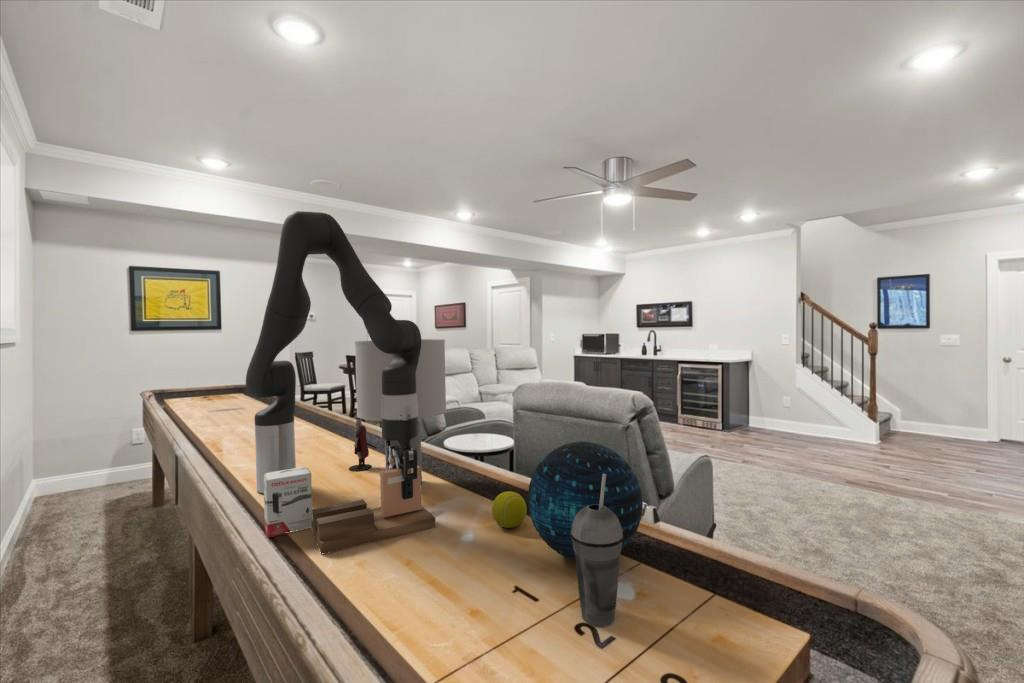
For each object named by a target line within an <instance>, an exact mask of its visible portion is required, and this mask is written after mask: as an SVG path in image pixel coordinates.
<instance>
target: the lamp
mask: <svg viewBox="0 0 1024 683" xmlns="http://www.w3.org/2000/svg"><path fill="white" fill-rule="evenodd" d="M445 342H446V339H444V338H442V339H441V338H436V339H435V338H434V339H433V338H431V339H430V338H428V339H427V338H426V339H425V338H421V350H420V356H419V361H418V366H417V369H416V394H417V401H418V430H419V434H418V436H417V437H415V438H412V439H411V440H410V442H411V446H412V448H413V450H415V449H416V450H417V465H418V466H419V467H420V474H421V486H422V484H423V475H422V474H423V473H422V472H423V471H422V470H423V469H422V436H421V435H422V432H421V431H422V430H421V428H422V427H421V422H420V421H419V420H423V419H424V420H425V419H428V418H434V417H438V416H441V415H443V414H446V413H447V397H446V395H447V394H446V391H447V390H446V356H445V355H446V353H445V352H446V351H445V350H446V348H445V347H446V346H445ZM354 345H355V346H354V348H355V349H354V350H355V390H356V418H360V419H361V420H364V421H365V420H366V421H375V422H382V420H381V402H382V371H383V369H384V368H385V367H387V366H388V365H389V364H390V363H391V359H392V354H387V353H384V352H382V351H381V350H379V349H378V348H377V347H376V346H375V345H374V343H373V342H372V340H359V341H358V340H356V341H354ZM384 449H385V450H384V452H385V471H386V470H389V466H387V454H386V440H385V439H384ZM403 465H404V464H403Z"/></svg>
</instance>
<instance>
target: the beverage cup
mask: <svg viewBox="0 0 1024 683" xmlns="http://www.w3.org/2000/svg"><path fill="white" fill-rule="evenodd" d="M605 481H606V474H603V475H602V485H601V494H600V504H592V505H588V506H586V507H584V508H582V509H581V510H580V511H579V512H578V513H577V515H576V517H575V518H574V521H573V524H572V530H571V533H570V534H571V538H572V543H573V548H574V551H575V558H576V560H575V567H576V575H577V586H578V587H577V588H578V595H579V596H578V597H579V598H578V599H579V607H580V611H581V618H582V620H583V622H585V623H586V624H587V625H589V626H591V627H596V628H604V627H609V626H610V625H612V624H613V623H614V622H615V619H616V618H615V614H616V609H617V599H618V598H617V596H618V587H619V586H618V583H619V572H620V571H619V570H620V556H621V552H622V550H621V548H622V541H623V539H624V537H623V534H622V528H621V525H620V522H619V520H618V518H617V516H616V515H615V514H614V513H613V512H612V511H611V510H610V509H609V508H607V507H605V506H603V501H604V491H605Z"/></svg>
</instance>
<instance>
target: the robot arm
mask: <svg viewBox="0 0 1024 683" xmlns="http://www.w3.org/2000/svg"><path fill="white" fill-rule="evenodd" d="M281 228H282V229H281V233H280V237H279V238H280V239H279V240H280V241H279V248H278V255H277V262H276V269H275V273H274V276H273V282H272V285H271V286H272V287H271V291H270V293H269V296H268V298H267V303H266V308H265V312H264V315H263V320H262V326H261V330H260V334H259V338H258V340H257V343H256V346H255V348H254V351H253V355H252V357H251V359H250V362H249V364H248V367H247V370H246V377H245V389H246V392H247V394H248V395H249V396H250V397H252V398H257V399H263V398H273V397H275V399H274V401H273V402H272V403H271V404H270V405H268V406H267V407H264V408H263V409H261V410H259V411H257V412H256V413H255V415H254V437H255V439H254V442H255V443H254V444H255V470H256V471H255V472H256V492H257V493H260V494H264V474H266V473H269V472H275V471H282V470H288V469H294V468H297V467H296V433H295V413H296V391H297V388H296V386H297V384H296V383H297V382H296V381H297V379H296V371H295V367H294V365H293V364H292V362H290V361H289V360H275V359H276V358H277V357H278V356H279V354H280V353H281V352H282V351H283V350H284V349H286V348H287V347H288V346H289V345H290V344H291V343H292V342H293V341H294V340H296V339H297V338H298V337H299V336H300V335H301V333H302V332H303V330H304V329H305V328H306V323H307V321H308V318H309V315H310V311H311V308H312V307H311V305H312V304H311V303H312V302H311V297H310V294H309V291H308V290H307V286H306V285H305V281H304V279H303V273H304V267H305V263H306V259H307V257H308V256H309V255H326V256H327V257H328V258H330V259H331V260H332V261H333V262H334V263H335V265H336V267H337V269H338V271H339V277H340V279H339V280H340V285H341V286H340V287H341V290H342V293H343V295H344V297H345V299H346V300H347V302H348V303H349V305H350V306H351V307H352V308H353V309H354V311H355V312H356V313H357V316H359V317H360V318H361V319H362V322H363V325H364V327H365V329H366V331H367V334H368V336H369V338H370V341H372V342H373V343H374V345H375V346H376V347H377V348H378V349H379V350H381V351H382V352H384V353H387V354H392V359H391V363H390V364H389V365H388V366H387V367H385V368H384V369H383V371H382V402H381V420H382V421H381V437H382V439H383V440H384V441H385V440H386V454H387V466H389V470H392V469H397V470H398V471H400V476H401V493H402V498H403V499H404V500H405V499H410V498H412V497H413V480H414V479H417V450H416V449H415V450H413V448H412V446H411V442H410V440H411V439H412V438H415V437H417V436H418V434H419V430H418V421H419V419H418V401H417V394H416V369H417V366H418V361H419V356H420V350H421V339H422V334H421V331H420V328H419V326H418V325H417V324H416V323H415V322H414V321H412V320H408V319H396V318H394V316H392V314H391V311H392V303H391V301H390V299H389V298H388V296H387V295H386V294H385V293H384V291H383V290H382V289H381V288H380V286H379V285H378V284H377V283H376V281H375V280H374V279H373V277H371V275H370V274H369V272H368V271H367V269H366V268H365V267H364V265H363V264H362V262H361V260H360V258H359V257H358V255H357V252H356V251H355V249H354V247H353V246H352V244H351V242H350V241H349V238H348V237H347V235H346V233H345V232H344V230H343V229H342V227H341V225H340V224H339V223H338V221H337V219H335V218H334V217H333V216H332V215H331V214H329V213H325V212H319V211H318V212H317V211H304V210H303V211H302V210H301V211H300V210H299V211H293V212H291V213H288V215H287V216H286V217H285V219H284V221H283V224H282V227H281ZM403 464H404V465H403ZM408 470H409V472H410V474H408Z"/></svg>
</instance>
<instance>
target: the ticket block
mask: <svg viewBox="0 0 1024 683" xmlns="http://www.w3.org/2000/svg"><path fill="white" fill-rule="evenodd" d="M367 507H368V504H367V502H366V501H365V500H364V499H359V500H357V499H356V500H352V501H347V502H343V503H337V504H332V505H327V506H322V507H317V508H312V528H311V532H312V534H313V538H314V537H315V538H314V540H315V542H317V543H316V545H317V544H318V545H317V547H319V548H318V549H320V550H319V552H321V553H320V555H321V554H322V553H326V554H329V553H328V552H330V553H334V552H337V551H341V550H346V549H350V548H354V547H359V546H362V545H367V544H370V543H375V542H379V540H380V541H384V540H388V539H391V537H392V538H395V537H396V538H397V537H400V536H405V535H408V534H412V533H416V532H419V531H421V532H422V531H424V530H428V529H433V528H436V516H434V514H432V513H431V512H430V511H429V510H428V509H427V508H425V506H424V505H422V504H421V510H416V511H412V512H407V513H402V514H398V515H393V516H389V517H383V516H382V515H381V506H379V507H375V508H371V507H369V508H367ZM387 538H388V539H387ZM383 539H384V540H383ZM322 555H323V554H322Z"/></svg>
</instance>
